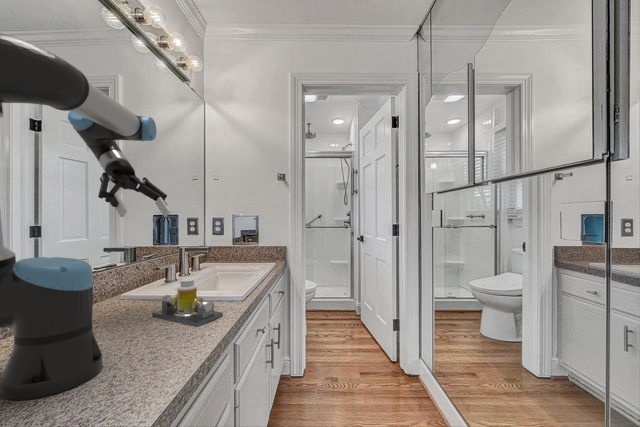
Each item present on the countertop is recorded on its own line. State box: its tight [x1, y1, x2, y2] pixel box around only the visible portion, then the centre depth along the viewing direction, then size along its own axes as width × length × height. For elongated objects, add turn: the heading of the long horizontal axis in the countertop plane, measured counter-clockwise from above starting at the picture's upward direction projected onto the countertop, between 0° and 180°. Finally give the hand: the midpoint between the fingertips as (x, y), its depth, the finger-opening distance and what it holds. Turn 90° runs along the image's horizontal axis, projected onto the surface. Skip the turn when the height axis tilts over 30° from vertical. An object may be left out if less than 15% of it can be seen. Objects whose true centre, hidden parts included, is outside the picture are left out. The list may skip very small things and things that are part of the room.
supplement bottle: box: [176, 278, 197, 314], centre depth 96 cm, size 6×6×10 cm
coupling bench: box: [151, 294, 224, 328], centre depth 96 cm, size 10×20×6 cm, turn 64°
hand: (147, 213), depth 91 cm, fingers open, 13 cm apart
